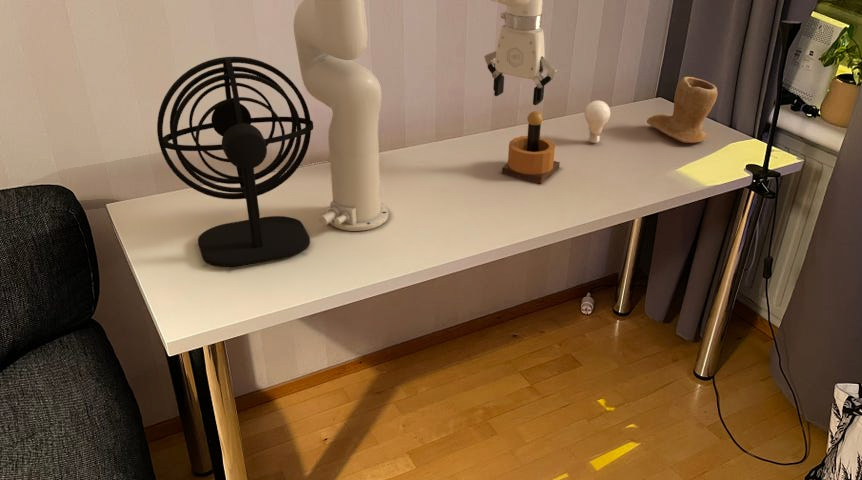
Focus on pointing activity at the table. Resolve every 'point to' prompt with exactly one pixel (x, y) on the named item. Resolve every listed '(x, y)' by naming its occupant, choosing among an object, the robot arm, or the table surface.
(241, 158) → the desk fan
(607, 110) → the lightbulb
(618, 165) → the table surface
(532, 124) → the hook peg
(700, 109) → the brown boot
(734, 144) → the table surface
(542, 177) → the hook base
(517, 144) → the tape roll
